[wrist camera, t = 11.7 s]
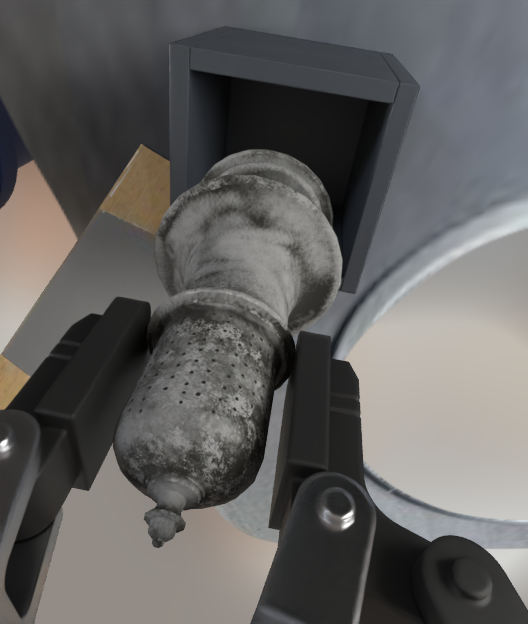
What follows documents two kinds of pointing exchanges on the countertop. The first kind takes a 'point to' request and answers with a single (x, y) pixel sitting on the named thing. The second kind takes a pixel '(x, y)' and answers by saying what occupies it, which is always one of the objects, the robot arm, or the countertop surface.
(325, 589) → the robot arm
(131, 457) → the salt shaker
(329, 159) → the trash bin
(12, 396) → the sandwich container
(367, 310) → the countertop surface
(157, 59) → the countertop surface
